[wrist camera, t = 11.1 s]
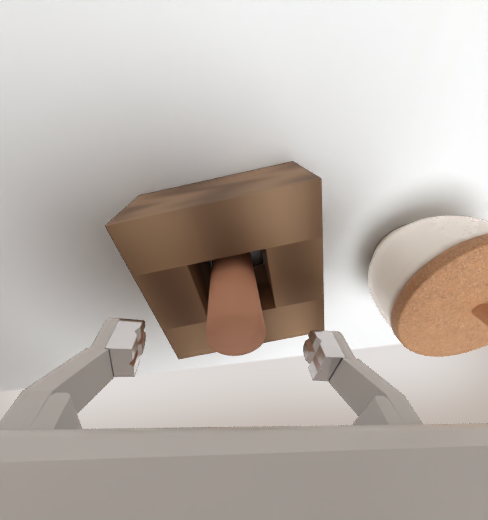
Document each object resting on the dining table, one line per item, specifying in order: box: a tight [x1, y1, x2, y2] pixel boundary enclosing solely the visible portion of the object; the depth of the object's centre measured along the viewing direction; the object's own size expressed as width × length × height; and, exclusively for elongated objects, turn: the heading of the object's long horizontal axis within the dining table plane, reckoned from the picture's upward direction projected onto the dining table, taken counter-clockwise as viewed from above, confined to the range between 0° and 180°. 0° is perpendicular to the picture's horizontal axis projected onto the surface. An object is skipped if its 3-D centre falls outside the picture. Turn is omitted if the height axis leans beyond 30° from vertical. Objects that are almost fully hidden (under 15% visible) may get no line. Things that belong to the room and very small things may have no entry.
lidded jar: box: [368, 216, 488, 357], centre depth 19 cm, size 11×11×9 cm
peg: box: [206, 252, 266, 356], centre depth 17 cm, size 3×3×10 cm
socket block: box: [105, 161, 324, 359], centre depth 18 cm, size 12×12×6 cm
